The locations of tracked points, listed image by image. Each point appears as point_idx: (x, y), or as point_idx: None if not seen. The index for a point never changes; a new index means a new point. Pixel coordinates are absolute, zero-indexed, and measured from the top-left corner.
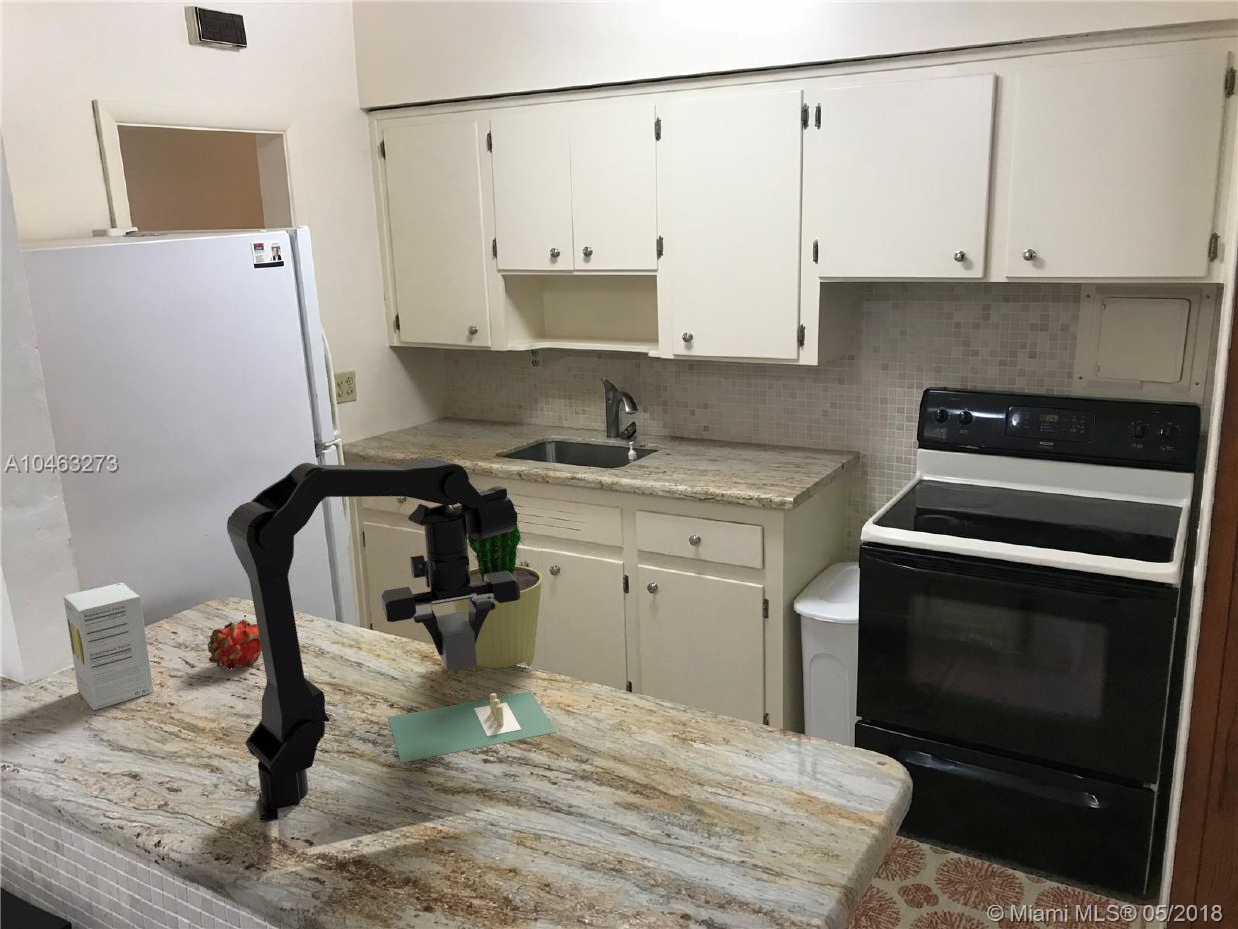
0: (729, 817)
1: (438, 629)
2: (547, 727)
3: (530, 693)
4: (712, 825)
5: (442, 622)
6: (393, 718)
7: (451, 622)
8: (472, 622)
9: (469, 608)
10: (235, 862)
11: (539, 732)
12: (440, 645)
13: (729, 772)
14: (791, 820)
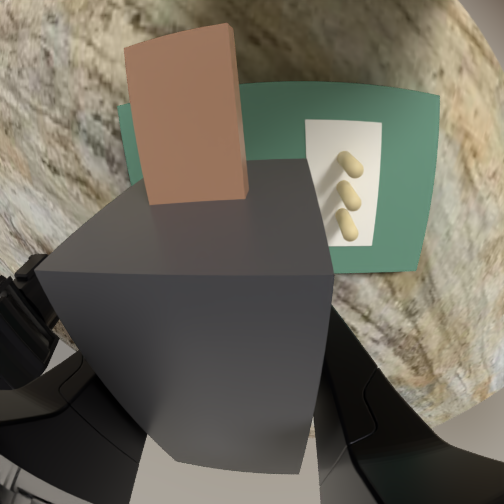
0: (439, 395)
1: (141, 454)
2: (412, 252)
3: (436, 106)
4: (424, 400)
5: (133, 388)
6: (127, 114)
7: (196, 411)
8: (322, 459)
9: (350, 485)
10: (60, 333)
11: (393, 263)
12: None
13: (486, 354)
14: (461, 397)
